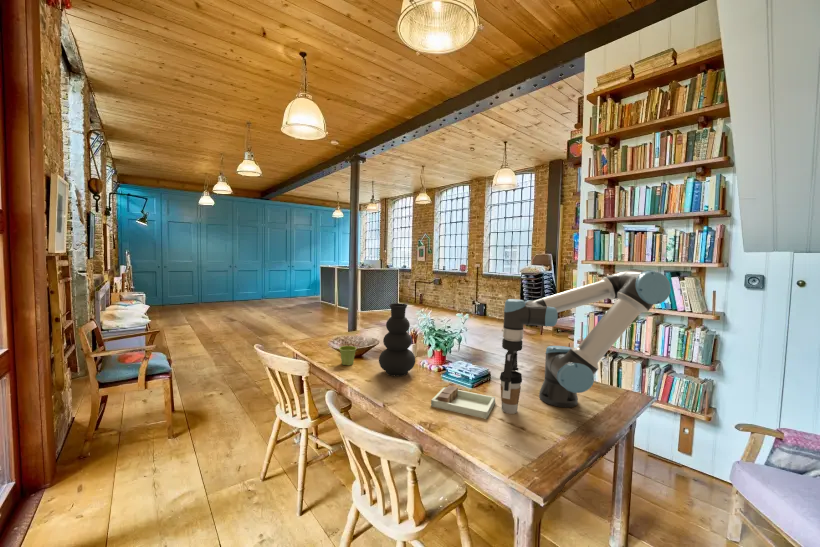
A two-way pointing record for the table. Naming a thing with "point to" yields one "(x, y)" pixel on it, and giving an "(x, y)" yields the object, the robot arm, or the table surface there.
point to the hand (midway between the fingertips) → (509, 391)
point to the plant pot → (347, 354)
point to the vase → (397, 343)
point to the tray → (467, 404)
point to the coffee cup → (512, 393)
